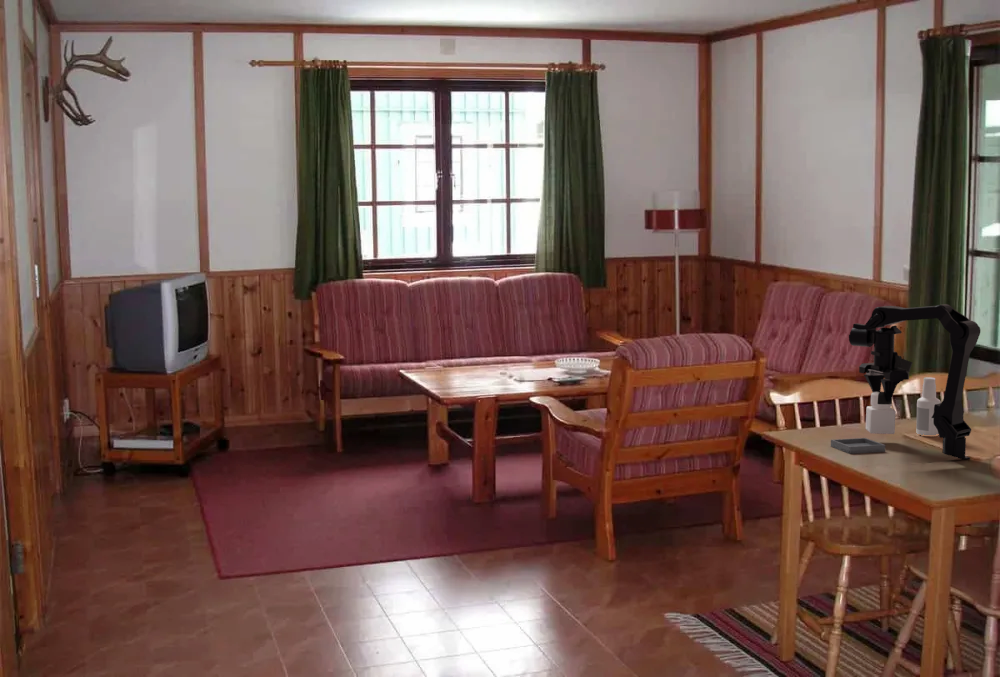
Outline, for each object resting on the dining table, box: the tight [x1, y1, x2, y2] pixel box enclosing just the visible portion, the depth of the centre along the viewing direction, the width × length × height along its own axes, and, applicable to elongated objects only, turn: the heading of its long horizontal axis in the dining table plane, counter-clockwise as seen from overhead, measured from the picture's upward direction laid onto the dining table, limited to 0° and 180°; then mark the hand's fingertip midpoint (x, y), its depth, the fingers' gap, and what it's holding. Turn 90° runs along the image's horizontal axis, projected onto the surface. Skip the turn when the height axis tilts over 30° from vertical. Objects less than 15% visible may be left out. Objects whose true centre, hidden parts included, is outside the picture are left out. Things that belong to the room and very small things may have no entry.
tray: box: [830, 437, 886, 454], centre depth 348 cm, size 11×11×2 cm
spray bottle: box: [915, 376, 942, 435], centre depth 366 cm, size 7×7×18 cm
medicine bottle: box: [865, 391, 897, 435], centre depth 356 cm, size 7×7×12 cm
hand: (882, 400), depth 356 cm, fingers closed on medicine bottle, 6 cm apart
